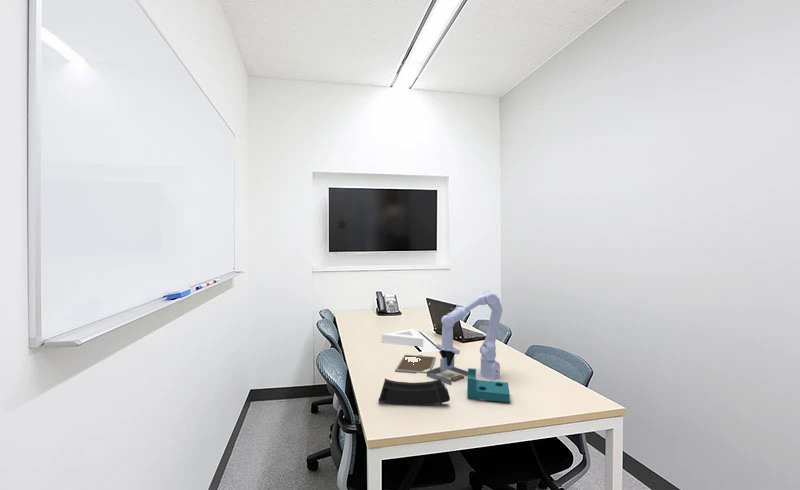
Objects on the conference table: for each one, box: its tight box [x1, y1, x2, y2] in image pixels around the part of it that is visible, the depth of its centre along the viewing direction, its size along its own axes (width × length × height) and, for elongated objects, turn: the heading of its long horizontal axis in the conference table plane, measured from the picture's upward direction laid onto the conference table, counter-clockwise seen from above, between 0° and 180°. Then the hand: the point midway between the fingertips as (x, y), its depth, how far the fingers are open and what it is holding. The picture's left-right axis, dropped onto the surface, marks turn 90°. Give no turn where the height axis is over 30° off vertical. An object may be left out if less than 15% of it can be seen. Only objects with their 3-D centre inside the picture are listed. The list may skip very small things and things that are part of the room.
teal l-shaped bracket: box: [466, 367, 511, 403], centre depth 161 cm, size 18×11×10 cm, turn 78°
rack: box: [426, 366, 468, 386], centre depth 185 cm, size 16×17×3 cm
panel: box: [439, 356, 455, 372], centre depth 186 cm, size 2×9×6 cm, turn 133°
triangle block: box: [381, 327, 424, 348], centre depth 247 cm, size 30×26×6 cm
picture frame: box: [394, 354, 437, 375], centre depth 205 cm, size 19×2×30 cm
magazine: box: [377, 378, 451, 407], centre depth 154 cm, size 17×3×30 cm
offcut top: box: [450, 374, 465, 382], centre depth 181 cm, size 2×7×1 cm, turn 128°
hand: (447, 364), depth 186 cm, fingers closed on panel, 2 cm apart
